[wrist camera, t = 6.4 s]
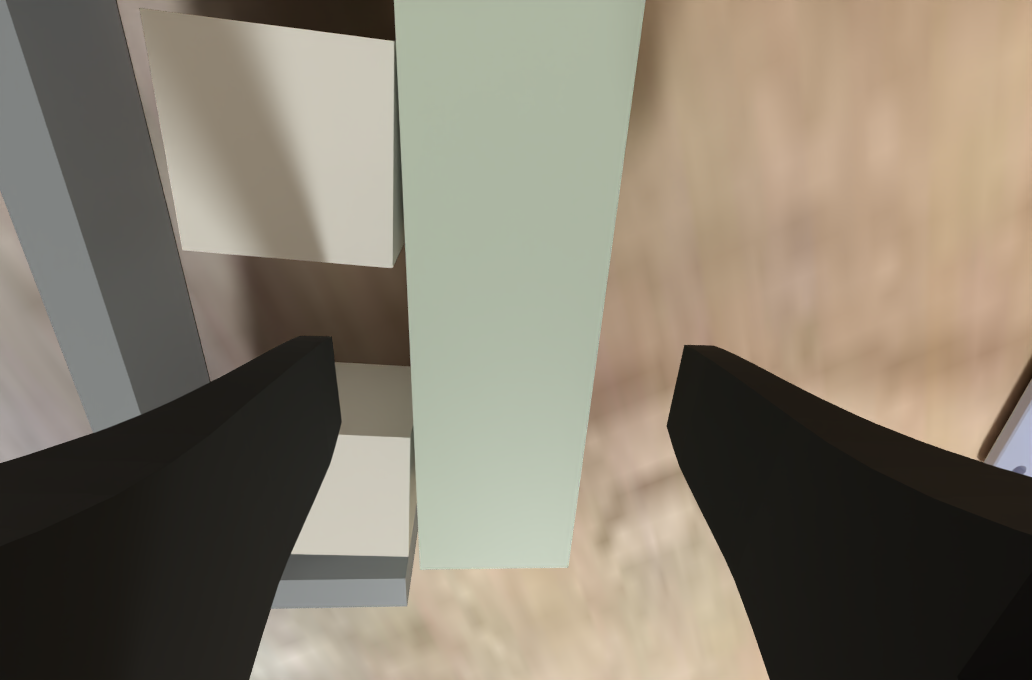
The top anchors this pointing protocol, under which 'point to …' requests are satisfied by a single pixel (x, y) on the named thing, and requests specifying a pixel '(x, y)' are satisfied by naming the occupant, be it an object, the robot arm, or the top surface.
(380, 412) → the block
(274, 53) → the block
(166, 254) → the grey frame
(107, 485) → the robot arm
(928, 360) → the top surface
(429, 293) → the sage green beam
